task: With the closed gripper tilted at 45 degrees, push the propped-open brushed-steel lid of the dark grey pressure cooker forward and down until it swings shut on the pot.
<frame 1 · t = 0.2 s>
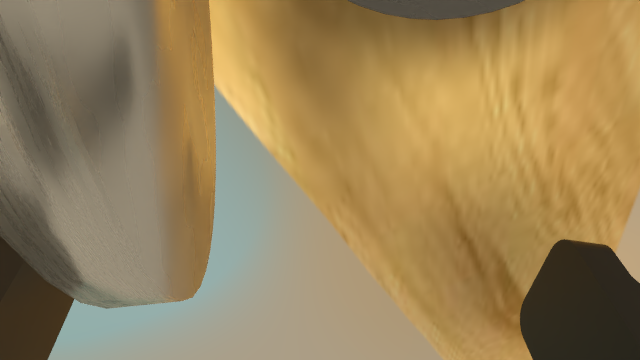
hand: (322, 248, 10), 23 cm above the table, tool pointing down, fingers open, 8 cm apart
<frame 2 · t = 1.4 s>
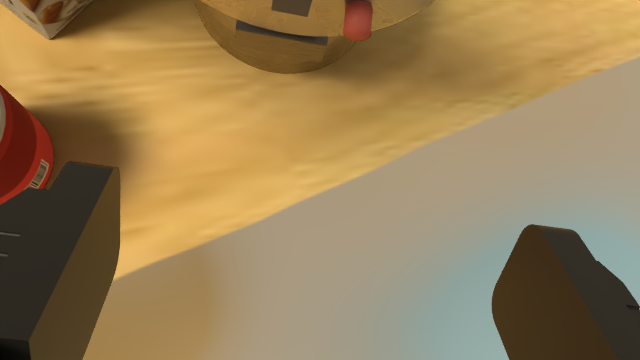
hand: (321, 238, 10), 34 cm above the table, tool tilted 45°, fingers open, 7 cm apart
canned food: (3, 162, 42), on the table
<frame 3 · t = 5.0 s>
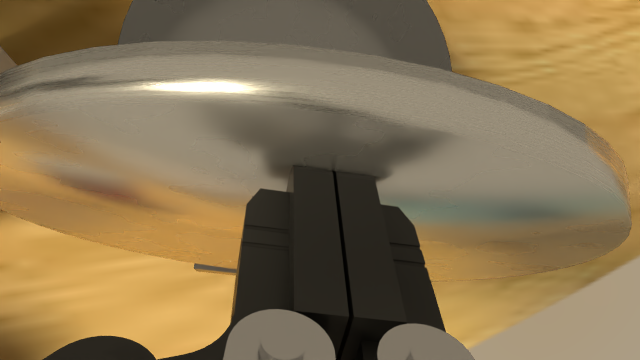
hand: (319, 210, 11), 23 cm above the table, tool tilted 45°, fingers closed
cooker pot: (273, 132, 35), on the table
lid: (292, 249, 15), point 18 cm above the table, hinge at 84.7°, touching gripper
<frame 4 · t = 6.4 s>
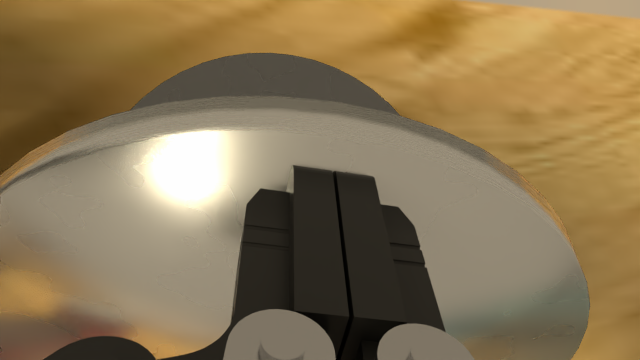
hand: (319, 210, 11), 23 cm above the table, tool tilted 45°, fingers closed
cooker pot: (258, 242, 33), on the table
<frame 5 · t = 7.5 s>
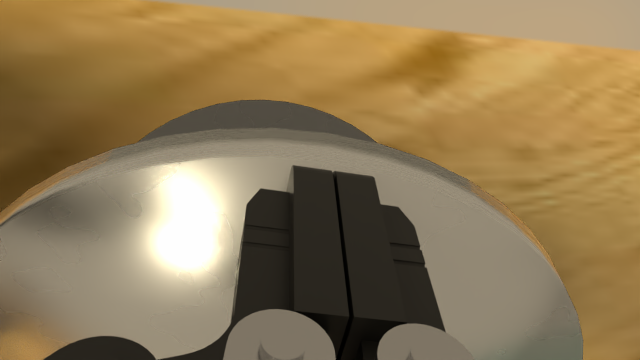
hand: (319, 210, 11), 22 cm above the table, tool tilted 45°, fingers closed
cooker pot: (251, 286, 32), on the table
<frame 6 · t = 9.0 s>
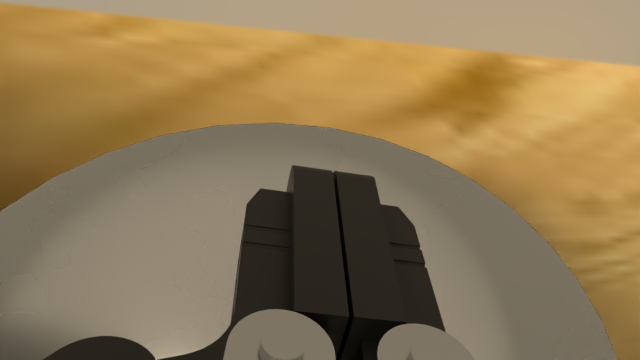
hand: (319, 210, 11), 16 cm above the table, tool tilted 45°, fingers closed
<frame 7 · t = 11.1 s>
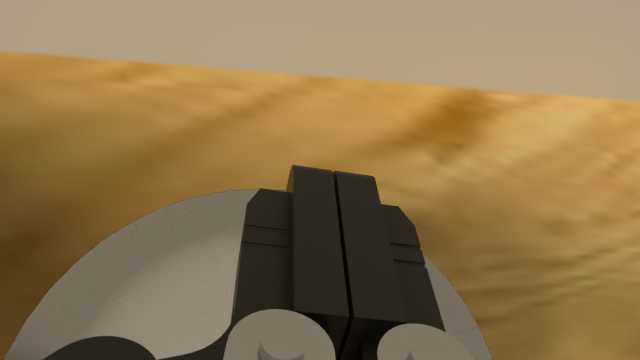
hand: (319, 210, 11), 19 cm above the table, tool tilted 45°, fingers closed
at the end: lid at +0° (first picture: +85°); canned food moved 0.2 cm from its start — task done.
